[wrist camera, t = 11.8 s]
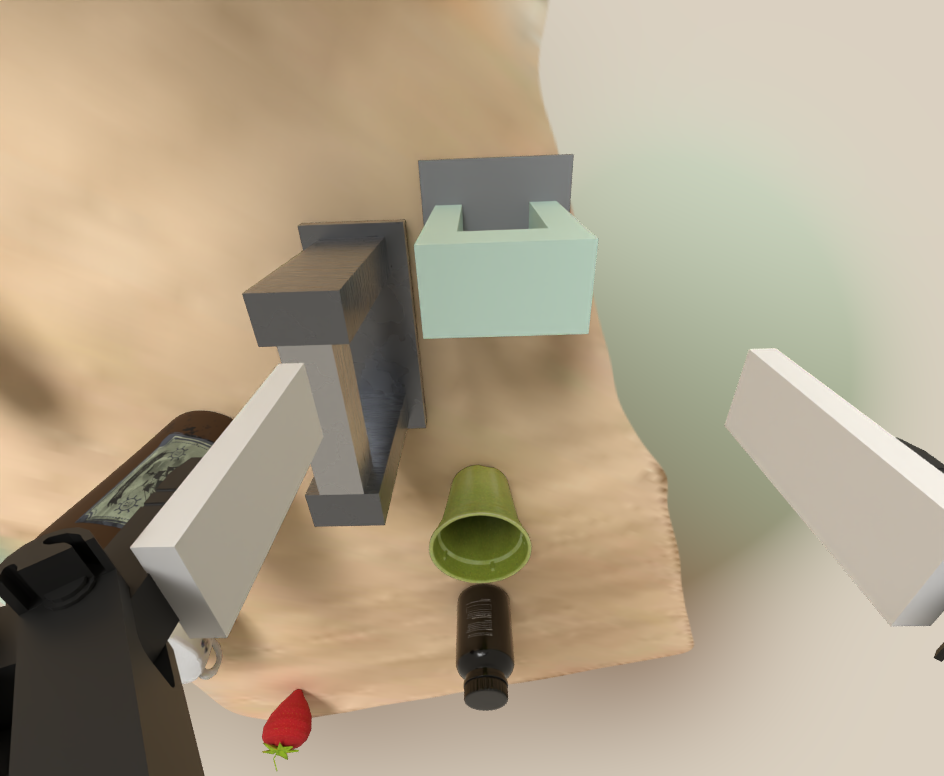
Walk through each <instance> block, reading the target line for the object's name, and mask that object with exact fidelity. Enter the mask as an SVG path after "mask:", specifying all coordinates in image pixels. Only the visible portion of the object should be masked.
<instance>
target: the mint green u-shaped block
mask: <svg viewBox="0 0 944 776" xmlns="http://www.w3.org/2000/svg"><path fill="white" fill-rule="evenodd" d="M597 249H598V238H597V237H596V236H595V235H594V234H593V233H591V232H590V231H589V230H588V229H587V228H586V227H585V226H584V225H582V223H580V222H579V221H578V220H577V219H576V218H575V217H574V216H573V215H572V214H570V213H569V212H568V211H567V210H566V209H565V208H564V207H563V206H562V205H560V204H559V203H558V202H557V201H541V202H529V229H513V230H485V231H463V216H462V205H435V207H434V209H433V211H432V212H431V214H430V216H429V218H428V220H427V222H426V224H425V225H424V227H423V229H422V231H421V233H420V235H419V237H418V239H417V240H416V242H415V244H414V252H415V262H416V272H417V281H418V291H419V301H420V311H421V321H422V331H423V339H435V338H468V337H502V336H535V335H568V334H588V333H589V324H590V314H591V305H592V296H593V286H594V276H595V267H596V258H597Z"/></svg>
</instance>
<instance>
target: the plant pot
mask: <svg viewBox="0 0 944 776" xmlns="http://www.w3.org/2000/svg"><path fill="white" fill-rule="evenodd" d="M531 548H532V547H531V541H530V537H529V535H528V533H527V532H526V530H525V529H524V528H523V527H522V525H521V523H520V521H519V520H518V517H517V514H516V510H515V507H514V503H513V500H512V496H511V493H510V489H509V485H508V482H507V479H506V477H505V476H504V475H503V474H502V473H501V472H500V471H499V470H497V469H495V468H489V467H484V466H481V465H474V466H469V467H467V468H465V469H463V470H461V471H460V472H459V473H458V474H457V475H456V476H455V478H454V480H453V482H452V485H451V489H450V493H449V497H448V501H447V504H446V508H445V512H444V515H443V519H442V521H441V522H440V524H439V526H438V528H437V529H436V530H435V531H434V533H433V535H432V536H431V539H430V543H429V553H430V557H431V559H432V561H433V563H434V564H435V565H436V567H437V568H438V569H439V570H441V571H442V572H443V573H445V574H446V575H448V576H450V577H452V578H455V579H457V580H460V581H464V582H469V583H491V582H496V581H500V580H503V579H506V578H508V577H510V576H512V575H514V574H516V573H517V572H518V571H519V570H521V569H522V568H523V567H524V566H525V565H526V563H527V562H528V560H529V558H530V555H531Z"/></svg>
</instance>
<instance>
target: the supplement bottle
mask: <svg viewBox="0 0 944 776" xmlns="http://www.w3.org/2000/svg"><path fill="white" fill-rule="evenodd" d="M456 668H457V670H458V673H459V674H460V676H461V677H462V678H463V679H464V701H465V703H466V704H467V705H468V706H469V707H471V708H473V709H476V710H495V709H498V708H501V707H503V706H504V705H505V704H506V703H507V701H508V690H507V688H508V681H507V678H508V677H509V676H510V675H511V673H512V671H513V668H514V651H513V638H512V626H511V614H510V603H509V598H508V596H507V594H506V593H505V592H504V591H503V590H502V589H500V588H499V587H496V586H493V585H488V584H480V585H474V586H471V587H469V588H467V589H465V590H464V591H463V592H462V593H461V594H460V596H459V598H458V606H457V639H456Z"/></svg>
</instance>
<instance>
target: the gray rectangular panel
mask: <svg viewBox="0 0 944 776" xmlns="http://www.w3.org/2000/svg"><path fill="white" fill-rule="evenodd" d="M573 157H574V156H573V154H565V155H540V156H515V157H490V158H466V159H441V160H419V161H418V164H419V175H420V187H421V198H422V209H423V221H424V225H425V224H426V222H427V220H428V218H429V216H430V214H431V212H432V211H433V209H434V207H435V205H462V216H463V231H485V230H513V229H529V202H541V201H557V202H558V203H559V204H560V205H562V206H563V207H564V208H565V209H566V210H567V211H568V212H570V198H571V184H572V170H573Z"/></svg>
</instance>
